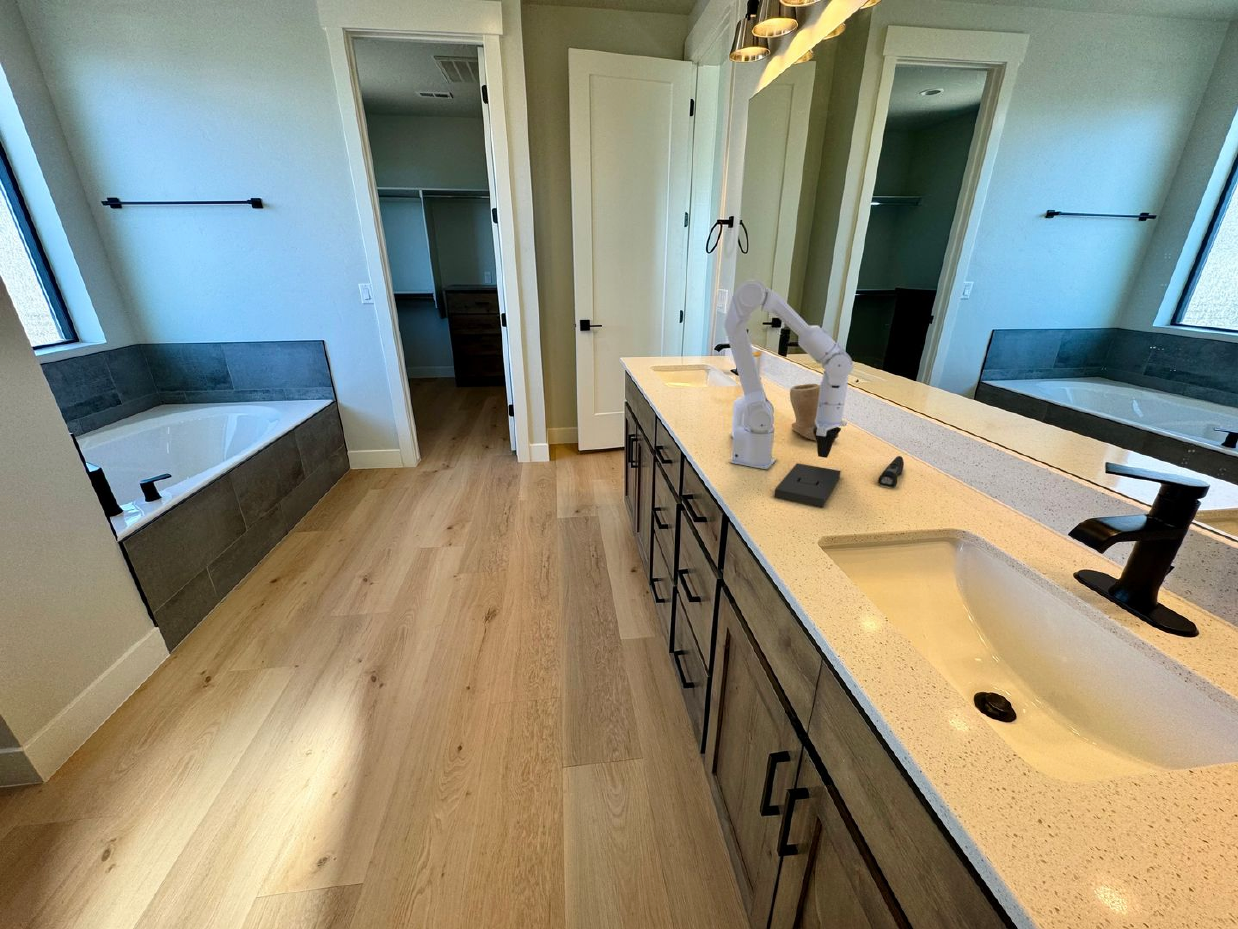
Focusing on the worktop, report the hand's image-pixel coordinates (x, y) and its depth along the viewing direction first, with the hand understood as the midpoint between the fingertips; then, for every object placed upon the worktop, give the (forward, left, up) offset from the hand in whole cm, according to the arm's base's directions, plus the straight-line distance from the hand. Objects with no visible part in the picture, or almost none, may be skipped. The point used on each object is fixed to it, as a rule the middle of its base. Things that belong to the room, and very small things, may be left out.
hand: (823, 456), depth 120 cm
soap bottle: (-24, +14, -3) cm, 28 cm away
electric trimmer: (+15, +2, -3) cm, 16 cm away
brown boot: (-9, +25, -3) cm, 27 cm away
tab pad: (0, -11, -3) cm, 11 cm away
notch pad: (0, -19, -3) cm, 19 cm away
